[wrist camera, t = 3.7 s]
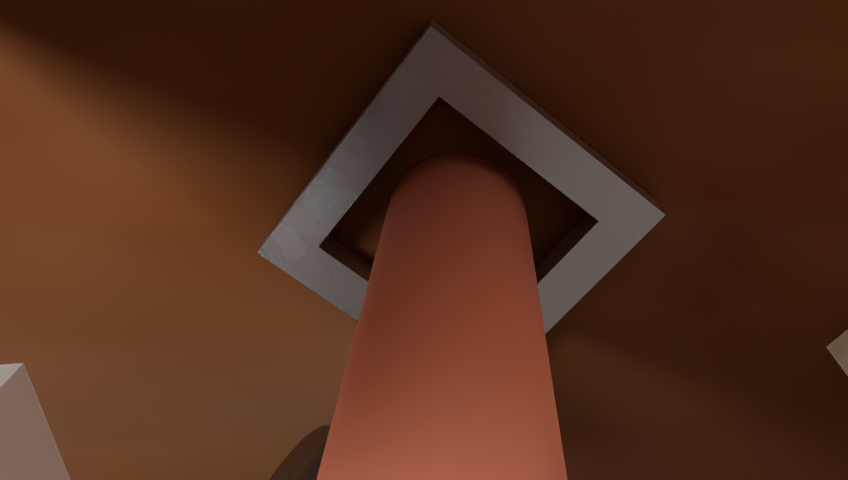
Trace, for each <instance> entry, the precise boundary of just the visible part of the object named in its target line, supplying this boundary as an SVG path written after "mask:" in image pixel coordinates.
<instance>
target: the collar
mask: <svg viewBox="0 0 848 480" xmlns="http://www.w3.org/2000/svg"><path fill="white" fill-rule="evenodd" d="M438 97H441V98H442V99H443V100H444V101H446V102H447V103H448V104H450V105H451V106H452V107H453V108H455V109H456V110H457V111H459V112H460V113H461V114H462V115H464V116H465V117H466V118H468V119H469V120H470V121H471V122H473V123H474V124H475V125H476V126H478V127H479V128H480V129H482V130H483V131H484V132H485V133H487V134H488V135H489V136H491V137H492V138H493V139H494V140H496V141H497V142H498V143H499V144H501V145H502V146H503V147H505V148H506V149H507V150H508V151H510V152H511V153H512V154H514V155H515V156H516V157H517V158H519V159H520V160H521V161H523V162H524V163H525V164H526V165H528V166H529V167H530V168H531V169H533V170H534V171H535V172H537V173H538V174H539V175H540V176H542V177H543V178H544V179H546V180H547V181H548V182H549V183H551V184H552V185H553V186H554V187H556V188H557V189H558V190H560V191H561V192H562V193H563V194H565V195H566V196H567V197H569V198H570V199H571V200H572V201H574V202H575V203H576V204H578V205H579V206H580V207H581V208H583V209H584V210H585V211H586V212H588V214H587V215H586V216H585V217H584V218H583V219H582V220H581V221H580V222H579V223H578V224H577V225H576V226H575V227H574V228H573V229H572V230H571V231H570V232H569V233H568V234H567V235H566V237H565V238H564V239H563V240H562V241H561V242H560V243H559V244H558V245H557V246H556V247H555V248H554V249H553V250H552V251H551V252H550V253H549V254H548V255H547V256H546V257H545V258H544V259H543V260H542V262H541V263H540V264H539V265H538V266H537V267H536V268H535V272H536V278H537V285H538V291H539V298H540V304H541V311H542V317H543V324H544V330H545V334H546V333H547V332H548V331H549V330H550V329H551V328H552V327H553V326H554V325H555V324H556V323H557V322H558V321H559V320H560V319H561V318H562V317H563V316H564V315H565V314H566V313H567V312H568V311H569V310H570V309H571V308H572V307H573V306H574V305H575V304H576V303H577V302H578V301H579V300H580V299H581V298H582V297H583V296H584V295H585V294H586V293H587V292H588V291H589V290H590V289H591V288H592V287H593V286H594V285H595V284H596V283H597V282H598V281H599V280H600V279H601V278H602V277H604V276H605V275H606V274H607V273H608V272H609V271H610V270H611V269H612V268H613V267H614V266H615V265H616V264H617V263H618V262H619V261H620V260H621V259H622V258H623V257H624V256H625V255H626V254H627V253H628V252H629V251H630V250H631V249H632V248H633V247H634V246H635V245H636V244H637V243H638V242H639V241H640V240H641V239H642V238H643V237H644V236H645V235H646V234H647V233H648V232H649V231H650V230H651V229H652V228H653V227H654V226H655V225H656V224H657V223H658V222H659V221H660V220H661V219H662V218H663V217H664V216H665V213H664V211H663V209H662V208H661V206H660V204H659V202H658V201H657V200H656V199H655V198H653V197H652V196H651V195H650V194H648V193H647V192H646V191H645V190H644V189H642V188H641V187H640V186H639V185H637V184H636V183H635V182H634V181H632V180H631V179H630V178H629V177H627V176H626V175H625V174H624V173H622V172H621V171H620V170H619V169H617V168H616V167H615V166H614V165H613V164H611V163H610V162H609V161H608V160H606V159H605V158H604V157H603V156H601V155H600V154H599V153H598V152H596V151H595V150H594V149H593V148H591V147H590V146H589V145H588V144H586V143H585V142H584V141H583V140H582V139H580V138H579V137H578V136H577V135H575V134H574V133H573V132H572V131H570V130H569V129H568V128H567V127H565V126H564V125H563V124H562V123H560V122H559V121H558V120H557V119H555V118H554V117H553V116H552V115H551V114H549V113H548V112H547V111H546V110H544V109H543V108H542V107H541V106H539V105H538V104H537V103H536V102H534V101H533V100H532V99H531V98H529V97H528V96H527V95H526V94H525V93H523V92H522V91H521V90H520V89H518V88H517V87H516V86H515V85H513V84H512V83H511V82H510V81H508V80H507V79H506V78H505V77H503V76H502V75H501V74H500V73H498V72H497V71H496V70H495V69H494V68H492V67H491V66H490V65H489V64H487V63H486V62H485V61H484V60H482V59H481V58H480V57H479V56H477V55H476V54H475V53H474V52H472V51H471V50H470V49H469V48H467V47H466V46H465V45H464V44H463V43H461V42H460V41H459V40H458V39H456V38H455V37H454V36H453V35H451V34H450V33H449V32H448V31H446V30H445V29H444V28H443V27H441V26H440V25H439V24H438V23H436V22H435V21H434V20H433V19H432V21H431V22H430V23H429V25H428V26H427V27H426V29H425V30H424V31H423V33H422V34H421V35H420V36H419V38H418V39H417V40H416V42H415V43H414V44H413V46H412V47H411V48H410V50H409V51H408V52H407V53H406V55H405V56H404V57H403V59H402V60H401V61H400V63H399V64H398V65H397V67H396V68H395V69H394V71H393V72H392V73H391V74H390V76H389V77H388V78H387V80H386V81H385V82H384V84H383V85H382V86H381V88H380V89H379V90H378V91H377V93H376V94H375V95H374V97H373V98H372V99H371V101H370V102H369V103H368V105H367V106H366V107H365V108H364V110H363V111H362V112H361V114H360V115H359V116H358V118H357V119H356V120H355V122H354V123H353V124H352V125H351V127H350V128H349V129H348V131H347V132H346V133H345V135H344V136H343V137H342V139H341V140H340V141H339V143H338V144H337V145H336V146H335V148H334V149H333V150H332V152H331V153H330V154H329V156H328V157H327V158H326V160H325V161H324V162H323V163H322V165H321V166H320V167H319V169H318V170H317V171H316V173H315V174H314V175H313V177H312V178H311V179H310V180H309V182H308V183H307V184H306V186H305V187H304V188H303V190H302V191H301V192H300V194H299V195H298V196H297V197H296V199H295V200H294V201H293V203H292V204H291V205H290V207H289V208H288V209H287V211H286V212H285V213H284V214H283V216H282V217H281V218H280V220H279V221H278V222H277V224H276V225H275V226H274V228H273V229H272V230H271V232H270V233H269V234H268V235H267V237H266V238H265V240H264V242H263V243H262V245H261V247H260V249H259V250H258V252H257V253H259V254H260V255H262V256H263V257H264V258H266V259H267V260H269V261H270V262H272V263H273V264H275V265H276V266H278V267H279V268H281V269H282V270H283V271H285V272H286V273H288V274H289V275H291V276H292V277H294V278H295V279H297V280H298V281H300V282H301V283H302V284H304V285H305V286H307V287H308V288H310V289H311V290H313V291H314V292H316V293H317V294H319V295H320V296H321V297H323V298H324V299H326V300H327V301H329V302H330V303H332V304H333V305H335V306H336V307H338V308H339V309H340V310H342V311H343V312H345V313H346V314H348V315H349V316H351V317H352V318H354V319H355V320H357V321H358V319H359V315H360V312H361V308H362V304H363V300H364V296H365V292H366V289H367V285H368V281H369V277H370V273H371V270H372V266H371V265H370V264H368V263H367V262H366V261H364V260H363V259H361V258H360V257H359V256H357V255H356V254H354V253H353V252H351V251H350V250H349V249H347V248H346V247H344V246H343V245H342V244H340V243H339V242H337V241H336V240H334V239H333V238H332V237H330V236H329V235H328V234H329V233H330V232H331V230H332V229H333V228H334V227H335V225H336V224H337V223H338V222H339V220H340V219H341V218H342V217H343V215H344V214H345V213H346V212H347V210H348V209H349V208H350V207H351V205H352V204H353V203H354V202H355V200H356V199H357V198H358V197H359V195H360V194H361V193H362V192H363V190H364V189H365V188H366V187H367V185H368V184H369V183H370V182H371V180H372V179H373V178H374V177H375V176H376V174H377V173H378V172H379V171H380V169H381V168H382V167H383V166H384V164H385V163H386V162H387V161H388V159H389V158H390V157H391V156H392V154H393V153H394V152H395V151H396V149H397V148H398V147H399V146H400V144H401V143H402V142H403V141H404V139H405V138H406V137H407V136H408V134H409V133H410V132H411V131H412V129H413V128H414V127H415V126H416V124H417V123H418V122H419V121H420V119H421V118H422V117H423V116H424V115H425V113H426V112H427V111H428V110H429V108H430V107H431V106H432V105H433V103H434V102H435V101H436V100H437V98H438Z"/></svg>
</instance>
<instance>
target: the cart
mask: <svg viewBox="0 0 848 480" xmlns="http://www.w3.org/2000/svg"><path fill="white" fill-rule="evenodd" d="M329 430H330V427H329V426H322V427H319V428H317V429H316V430H314V431H312V432H311V433H310V434H309V435H307V436H306V437H305V438H304V439H303V440H302V441H301V442H300V443H299V444H298V445H297V446H296V447H295V448H294V449H293V450H292V451H291V453H290V454H289V455H288V456H287V457H286V458H285V460H284V461H283V462H282V463H281V465H280V466H279V467H278V469H277V470H276V471H275V473H274V474H273V475H272V477H271V478H270V480H317V476H318V472H319V468H320V464H321V461H322V457H323V453H324V449H325V445H326V441H327V438H328V434H329Z"/></svg>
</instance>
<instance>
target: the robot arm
mask: <svg viewBox="0 0 848 480" xmlns="http://www.w3.org/2000/svg"><path fill="white" fill-rule="evenodd" d="M0 480H70V477H69V475H68V472H67V470H66V467H65V465H64V462H63V460H62V457H61V455H60V452H59V450H58V447H57V445H56V443H55V440H54V438H53V435H52V433H51V430H50V428H49V425H48V423H47V420H46V418H45V415H44V413H43V410H42V408H41V405H40V403H39V400H38V398H37V395H36V393H35V390H34V388H33V385H32V383H31V380H30V378H29V375H28V373H27V370H26V368H25V365H24V363H18V364H4V365H0Z"/></svg>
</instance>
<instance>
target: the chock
mask: <svg viewBox="0 0 848 480" xmlns="http://www.w3.org/2000/svg"><path fill="white" fill-rule="evenodd" d="M826 348H827V349H828V350H829V352H830V353H831V354H832V356H833V357H834V358H835V360H836V361H837V362H838V364H839V365H840V366H841V368H842V369H843V371H844V372H845V373H846V375H847V376H848V329H847V330H846V331H845V332H844V333H843V334H841V335H840V336H839V337H838V338H836V339H835V340H834V341H833V342H832V343H830V344H829V345H828V346H827V347H826Z"/></svg>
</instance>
